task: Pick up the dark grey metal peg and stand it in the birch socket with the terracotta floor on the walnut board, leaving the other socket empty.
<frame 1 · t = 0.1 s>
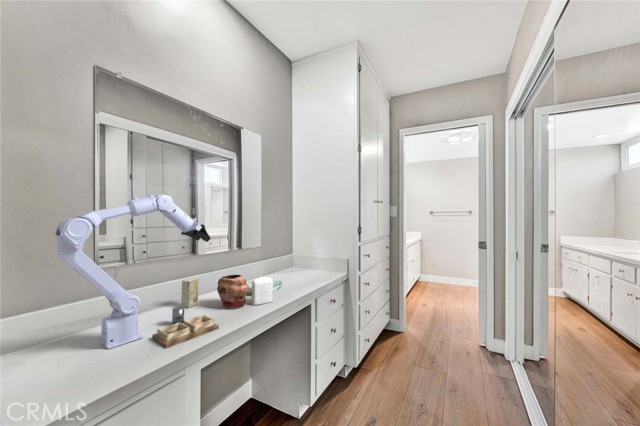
hand: (204, 239, 110), 32 cm above the vanity counter, tool tilted 50°, fingers open, 7 cm apart
decorative planter: (231, 305, 121), on the vanity counter
socket board: (186, 333, 92), on the vanity counter
photo printer: (262, 303, 125), on the vanity counter
skincare box: (189, 306, 121), on the vanity counter
grey metal peg: (178, 323, 100), on the vanity counter
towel: (260, 292, 145), on the vanity counter
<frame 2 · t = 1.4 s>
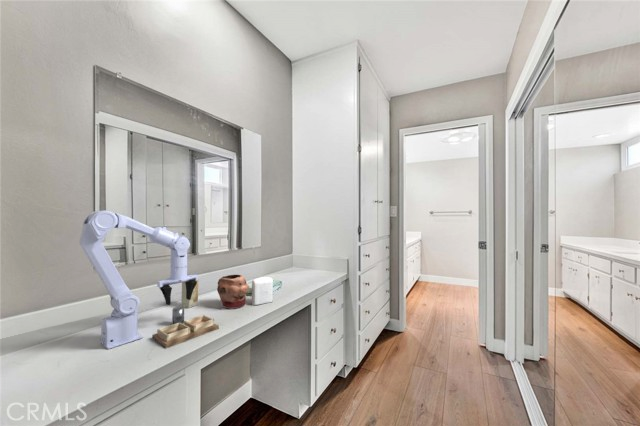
hand: (178, 301, 100), 8 cm above the vanity counter, tool pointing down, fingers open, 7 cm apart
nothing on the vanity counter moved.
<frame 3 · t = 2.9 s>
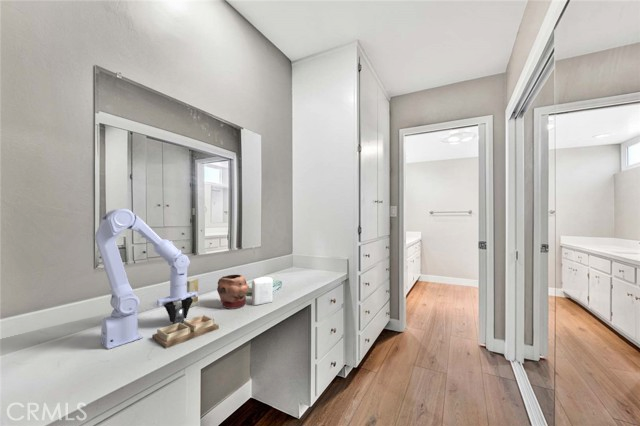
hand: (178, 319, 100), 2 cm above the vanity counter, tool pointing down, fingers closed on grey metal peg, 4 cm apart
grey metal peg: (178, 323, 100), on the vanity counter, touching gripper
everything else where it was.
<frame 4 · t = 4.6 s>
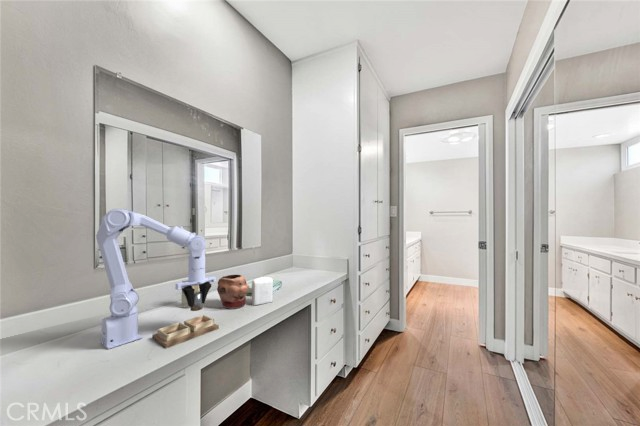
hand: (196, 304, 96), 9 cm above the vanity counter, tool pointing down, fingers closed on grey metal peg, 4 cm apart
grey metal peg: (196, 309, 96), point 7 cm above the vanity counter, touching gripper
everything else where it was.
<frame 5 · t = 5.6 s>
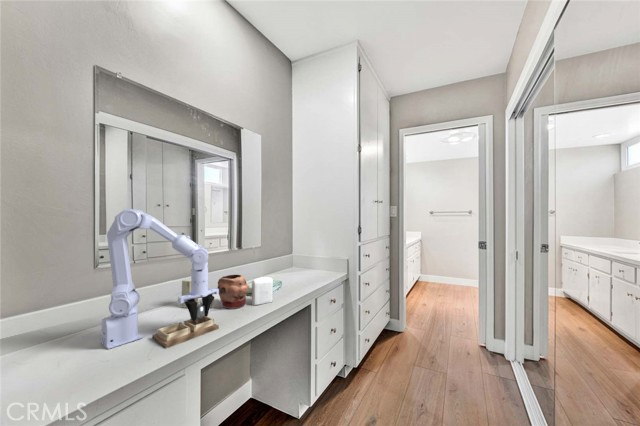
hand: (199, 317, 96), 4 cm above the vanity counter, tool pointing down, fingers closed on grey metal peg, 4 cm apart
grey metal peg: (199, 322, 96), point 2 cm above the vanity counter, touching gripper
everything else where it was.
when the fingers open (4 cm above the vanity counter, at t = 6.4 s): grey metal peg stays where it is, resting on socket board.
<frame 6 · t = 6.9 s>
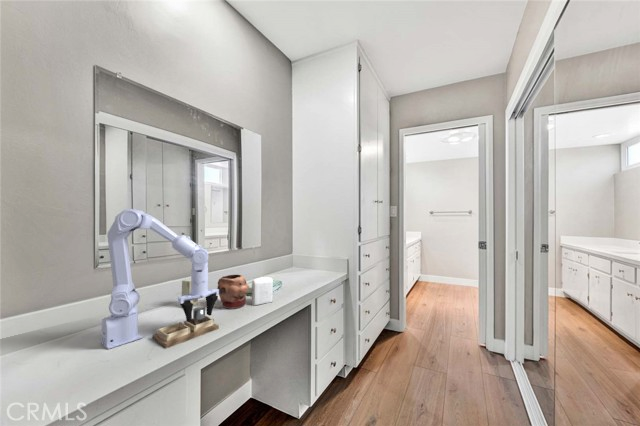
hand: (199, 318, 96), 4 cm above the vanity counter, tool pointing down, fingers open, 7 cm apart
grey metal peg: (199, 325, 96), point 1 cm above the vanity counter, touching socket board
everything else where it was.
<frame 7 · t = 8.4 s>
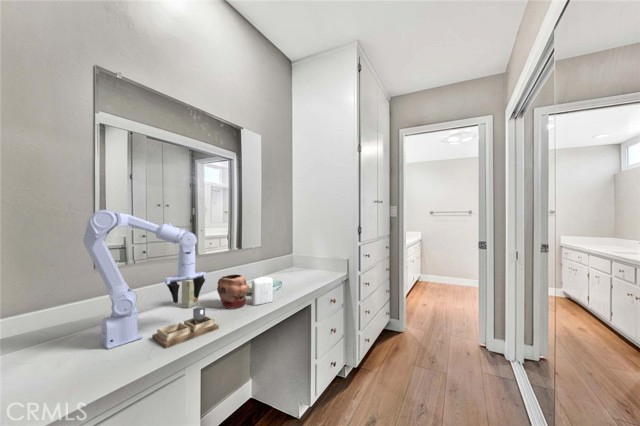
hand: (186, 299, 97), 10 cm above the vanity counter, tool pointing down, fingers open, 7 cm apart
nothing on the vanity counter moved.
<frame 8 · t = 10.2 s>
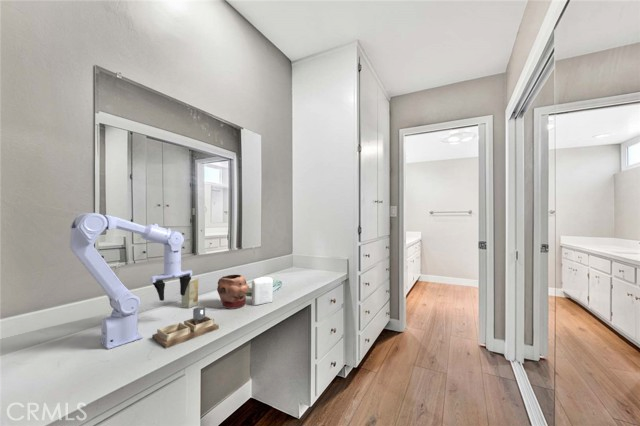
hand: (172, 297, 99), 10 cm above the vanity counter, tool pointing down, fingers open, 7 cm apart
nothing on the vanity counter moved.
at the end: grey metal peg 0.1 cm from the target spot on the socket board, point 1.4 cm above the socket board's base; grey metal peg tilted 0°; the gripper is holding nothing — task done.
